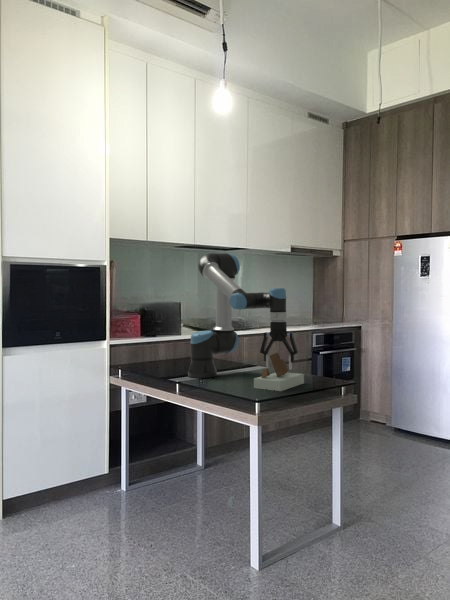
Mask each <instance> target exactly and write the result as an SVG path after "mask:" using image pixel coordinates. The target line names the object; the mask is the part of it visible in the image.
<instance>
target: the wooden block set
mask: <svg viewBox="0 0 450 600" xmlns="http://www.w3.org/2000/svg"><path fill="white" fill-rule="evenodd" d="M269 359H270V361H271V363H272V367H273V369H274V373H275V372H276V375H277V377H279V376H282V375H284V374H286V373H287V372H288V371H289V368H288V367H287V363H286V360H285V359H284V358H282V359H281V357H280V355H279V352H275V353H273V354H271V355H270V354H269ZM269 371H270V370H269V369H268V368H264V369H262V370H261V376H262V377H261V376H260V377H261V378H263V377H267V376H269V375H270V374H271V373H270V372H269Z"/></svg>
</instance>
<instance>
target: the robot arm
mask: <svg viewBox="0 0 450 600" xmlns="http://www.w3.org/2000/svg"><path fill="white" fill-rule="evenodd" d="M197 264H198V265H197V268H198V271H199V273H200V275H202V277H203V278H204V279H207V280H209V281H210V282H211V283H212V284H213V285H214V286H215V326H214V327H213V328H212V330H200V331H195V332H193V333H192V334H191V335H190V363H189V364H190V365H189V368H188V372H187V376H188V377H189V378H193V379H194V378H195V379H206V378H214V377H216V376H218V374H217V373H218V371H217V367H216V366H215V362H214V355H222V354H225V355H226V354H231V353H234V352H235V351H236V350H237V349H238V345H239V341H240V340H239V336H238V333H237V332H236V331H235V328H234V327H233V325H232V321H233V320H232V318H233V317H232V315H233V314H232V311H233V309H234V310H252V309H253V310H254V309H257V310H258V309H269V316H270V317H269V318H270V319H269V321H270V322H269V326H270V330H269V332H267V331H266V332H263V339H262V340H263V341H262V343H261V347H260V350H259V352H260V354H262V355H263V361H264V362H265V364H266V365H265V367H266V368H268V370H269V369H270V354H269V352H270V350H271V349H272V347H273V345H274V343H275V342H282V343H283V346H285V348H286V349H287V351H288V353H289V355H288V371H290V370H292V369H293V363H294V361H295V355H297V354H299V351H298V347H297V345H296V342H295V341H296V340H295V339H294V332H288V330H287V290H286V288H283V287H278V288H277V287H274V288H270V289H269V292H264V291H263V292H246V291H245V290H244V289H242V287H240V286H239V285H238V284H237V283H236V282H235V281H234V280H235V279H236V276H237V275H238V274H239V272H240V269H241V268H240V267H241V266H240V261H239V259H238V257H237V256H236V255H235V254H233V253H222V252H221V253H218V252H217V253H216V252H215V253H214V252H210V253H209V252H208V253H206V254H204V255H202V257H200V259H199V261H198V263H197ZM269 337H270V338H271V339H270V341H269V343H268V345H267V342H268V339H269ZM287 337H288V338H289V341H290V344H291V345H290V344H289V342H288V340H287ZM266 346H267V347H266ZM291 346H292V347H291ZM266 368H265V369H266Z"/></svg>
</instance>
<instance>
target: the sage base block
mask: <svg viewBox="0 0 450 600" xmlns="http://www.w3.org/2000/svg"><path fill="white" fill-rule="evenodd" d="M269 374H270V375H269V376H267V377H263V378H261V377H262V375H261V376H259V377H254V378H253V388H254V389H257V390H258V389H259V390H260V389H261V390H266V389H267V390H268V391H274V390H275V391H276V392H283V391H286V390H288V389H291V388H294V387H297V386H300V385H303V384H305V374H304V373H296V372H288V371H287V373H286V374H284V375H282V376H279V377H277V375H276V372H275V371H274V372H272V373H269Z"/></svg>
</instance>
